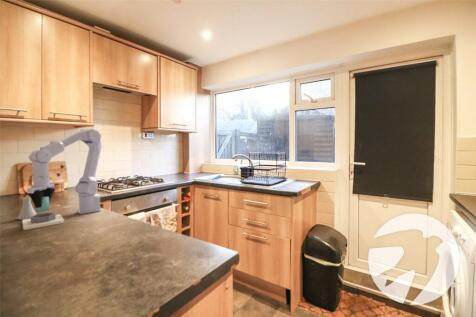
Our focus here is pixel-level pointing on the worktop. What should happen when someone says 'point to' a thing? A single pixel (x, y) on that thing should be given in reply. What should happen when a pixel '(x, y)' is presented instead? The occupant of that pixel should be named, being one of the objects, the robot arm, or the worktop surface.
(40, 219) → the mount
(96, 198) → the robot arm
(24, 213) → the flask
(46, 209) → the cap
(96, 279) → the worktop surface
